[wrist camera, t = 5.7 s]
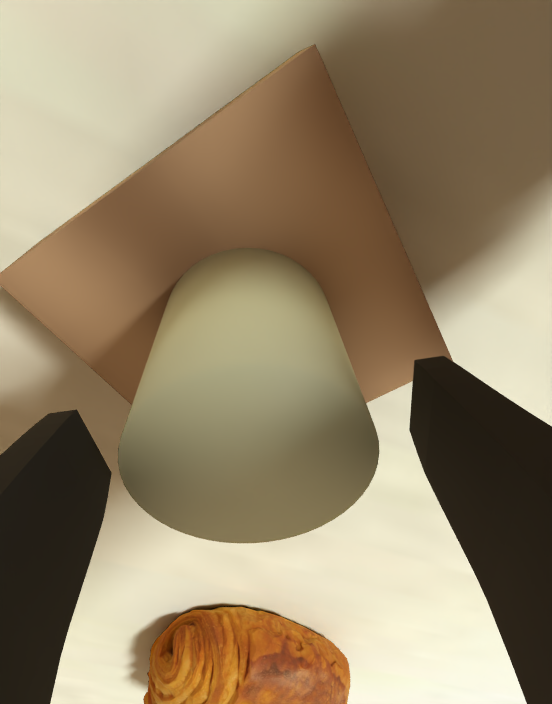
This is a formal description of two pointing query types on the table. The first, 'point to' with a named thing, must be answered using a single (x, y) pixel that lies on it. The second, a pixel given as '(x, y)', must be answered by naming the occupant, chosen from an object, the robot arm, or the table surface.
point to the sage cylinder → (247, 406)
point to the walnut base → (237, 235)
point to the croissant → (244, 661)
